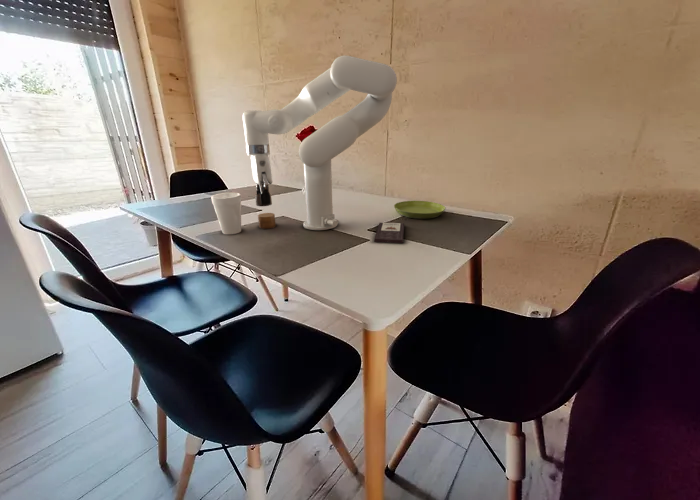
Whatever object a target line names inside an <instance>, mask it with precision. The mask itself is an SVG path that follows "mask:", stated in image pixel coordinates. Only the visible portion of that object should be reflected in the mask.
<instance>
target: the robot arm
mask: <svg viewBox="0 0 700 500" xmlns="http://www.w3.org/2000/svg"><path fill="white" fill-rule="evenodd" d="M397 83H398V77H397V74H396V71H395V70H394V69H393V68H392V67H391V66H390V65H388V64H386V63H381V62H378V61H373V60H368V59H363V58H361V57H360V58H359V57H356V56H351V55H340V56H337V57H336V58H335V59H334V60H333V62H332V63H331V65H330V67H329V68H328V69H326V70H325V71H324V72H322V73H321V74H319V75H318V76H316V77H315V78H314V79H312V80H311V81H308V83H306V84H305V85H304V86H303V88H302V89H301V91H300V93H299V94H298V95H297V96H296V97H295V98H294V99H293V100H292V101H291V102H289V103H287V104H286V105H285V106H284V107H282V108H280V109H269V110H244V111H243V113H242V123H243V130H244V131H243V132H244V139H245V149H246V156H250V163H251V164H250V165H251V173H252V174H251V175H252V179H253V182H254V183H255V189H256V190H255V192H256V194H260V197H261V204H262V205H266V204H270V203H271V202H270V194H271V192H270V187H269V185H272V184H273V175H272V170H271V169H272V168H271V163H270V158H269V155H270V154H271V152H270V140H269V134H270V135H285V134H287V133H289V132H291V131H292V130H294V129H295V128H297V127H298V126H300V125H302V124H303V123H304V122H306V121H307V120H308V119H310V118H311V117H313V116H314V115H316V114H318V113H319V112H321V111H322V110H323V109H325V108H327V107H328V106H329V105H330V104H332V103H333V102H335V101H336V100H337V99H339V98H340V97H342V96H344V95H345V94H347V93H348V92H349V91H354V92H357V93H358V92H359V93H363V94H367V95H366V96H365V98H364V99H363V100H362V101H360V102H358V104H356V105H355V106H354V107H352V108H351V109H350V110H348V111H347V112H344V114H342V115H337V116H335V117H334V118H332V119H331V120H329V121H327V122H326V123H325V124H324V125H322V126H320V127H319V128H318V129H317V130H315V131H314V132H312V133H311V134H310V135H308V136H307V137H305V138H304V139H303V140H302V141H301V142H300V144H299V147H298V157H299V159H300V160H301V163H303V176H304V193H305V206H306V209H305V210H306V220H305V221H304V222H303V223H302V225H303V228H304V229H307V230H310V231H326V230H331V229H334V228H337V226H338V224H339V219H338V218H335V214H334V209H333V208H334V207H333V178H332V160H333V159H334V158H336V157H337V156H339V155H340V154H342V153H343V152H344V151H346V150H347V149H349V148H351V146H352V145H354V144H355V142H356V141H357V139H359V138H360V137H361V136H363V135H364V134H365V133H366V132H368V131H370V130H371V129H372V128H373V127H374V126H376V125H378V124H379V123H380V122H381V121H382V120H383V119H384V117H385V116H387V114H388V112H389V110H390V108H391V104H392V99H393V92H394V91H395V90H396V87H397Z"/></svg>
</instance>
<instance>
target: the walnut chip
mask: <svg viewBox="0 0 700 500" xmlns="http://www.w3.org/2000/svg"><path fill="white" fill-rule="evenodd" d="M254 198H255V205H256V206H257V207H269V206H272V204H273V201H272V194H271V193H270V202H271V203H270V204H266V205H262V204H261V197H260V194H257V193H256V194H255V195H254Z"/></svg>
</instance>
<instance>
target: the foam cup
mask: <svg viewBox="0 0 700 500" xmlns="http://www.w3.org/2000/svg"><path fill="white" fill-rule="evenodd" d="M210 200H211V204H212V205H213V208H214V211H215V215H216V217H217V221H218V223H219V227H220V230H221V232H222V234H223V235H235V234H240V233H241V232H242V194H241V193H239V192H222V193H216V194H212V195H211V196H210Z"/></svg>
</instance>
